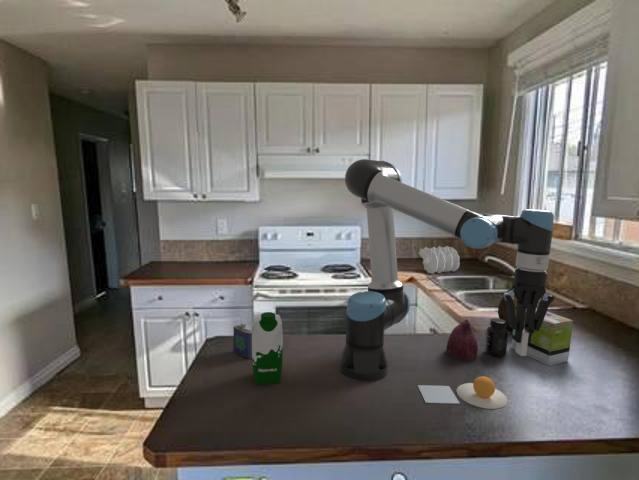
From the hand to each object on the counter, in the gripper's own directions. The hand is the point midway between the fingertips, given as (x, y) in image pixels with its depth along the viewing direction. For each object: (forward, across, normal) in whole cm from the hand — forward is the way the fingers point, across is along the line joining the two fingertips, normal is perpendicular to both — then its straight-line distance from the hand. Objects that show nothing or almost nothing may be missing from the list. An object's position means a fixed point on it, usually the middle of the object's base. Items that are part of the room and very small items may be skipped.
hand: (520, 353), depth 107 cm
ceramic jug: (+13, +25, +51) cm, 58 cm away
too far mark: (+13, -22, 0) cm, 25 cm away
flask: (+14, -80, +22) cm, 84 cm away
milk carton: (+14, -70, +7) cm, 71 cm away
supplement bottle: (+13, +6, +28) cm, 31 cm away
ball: (+10, -9, -1) cm, 14 cm away
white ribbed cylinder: (+14, +25, +155) cm, 158 cm away
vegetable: (+13, -6, +27) cm, 30 cm away
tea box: (+13, +21, +28) cm, 37 cm away
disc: (+13, -10, 0) cm, 16 cm away
